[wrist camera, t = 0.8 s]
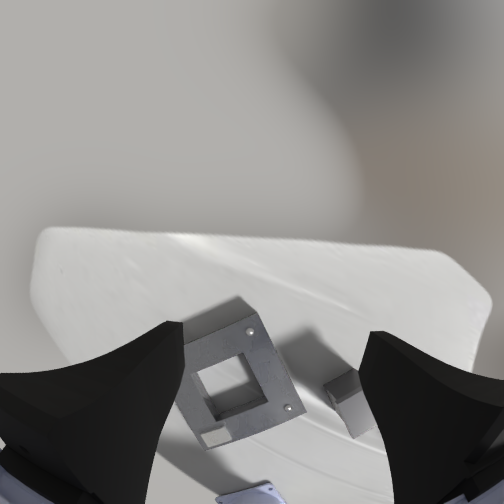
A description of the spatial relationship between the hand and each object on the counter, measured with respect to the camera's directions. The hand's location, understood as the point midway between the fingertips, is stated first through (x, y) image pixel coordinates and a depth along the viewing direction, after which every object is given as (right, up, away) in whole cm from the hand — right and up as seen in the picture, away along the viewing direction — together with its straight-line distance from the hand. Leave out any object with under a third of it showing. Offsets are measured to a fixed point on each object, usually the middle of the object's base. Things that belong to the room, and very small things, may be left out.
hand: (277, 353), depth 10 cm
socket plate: (-3, -11, +18) cm, 21 cm away
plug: (+10, -12, +17) cm, 23 cm away
